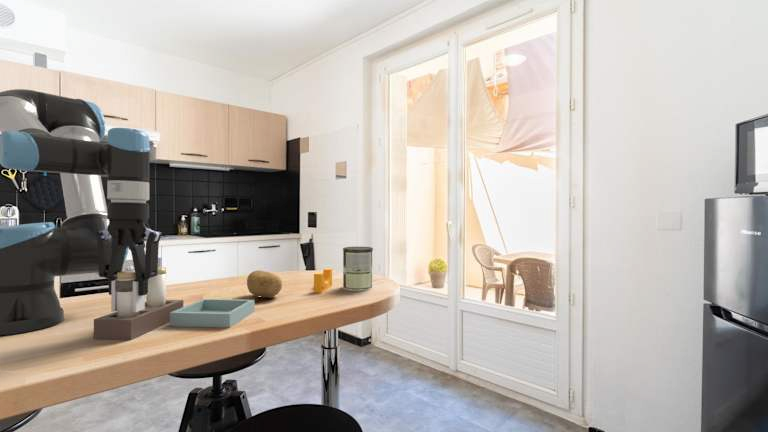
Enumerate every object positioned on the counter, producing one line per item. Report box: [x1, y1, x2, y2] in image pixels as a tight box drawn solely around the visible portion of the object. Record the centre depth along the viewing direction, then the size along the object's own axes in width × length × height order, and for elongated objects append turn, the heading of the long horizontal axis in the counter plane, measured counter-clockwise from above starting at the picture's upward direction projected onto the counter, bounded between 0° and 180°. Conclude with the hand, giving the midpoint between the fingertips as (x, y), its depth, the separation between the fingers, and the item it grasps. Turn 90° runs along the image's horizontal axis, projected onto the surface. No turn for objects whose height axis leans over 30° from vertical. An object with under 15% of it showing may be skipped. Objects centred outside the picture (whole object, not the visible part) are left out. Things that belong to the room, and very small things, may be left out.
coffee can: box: [342, 246, 374, 292], centre depth 131 cm, size 10×10×14 cm
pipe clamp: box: [313, 268, 333, 294], centre depth 129 cm, size 12×4×6 cm, turn 171°
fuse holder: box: [93, 299, 184, 341], centre depth 86 cm, size 8×18×4 cm, turn 177°
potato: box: [246, 270, 283, 299], centre depth 116 cm, size 10×14×8 cm
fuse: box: [145, 266, 167, 307], centre depth 91 cm, size 4×4×12 cm
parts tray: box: [169, 298, 256, 329], centre depth 93 cm, size 14×14×3 cm
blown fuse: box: [116, 270, 139, 318], centre depth 82 cm, size 4×4×12 cm
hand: (128, 309), depth 82 cm, fingers closed on blown fuse, 4 cm apart
